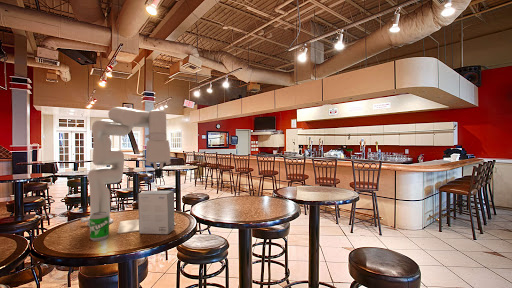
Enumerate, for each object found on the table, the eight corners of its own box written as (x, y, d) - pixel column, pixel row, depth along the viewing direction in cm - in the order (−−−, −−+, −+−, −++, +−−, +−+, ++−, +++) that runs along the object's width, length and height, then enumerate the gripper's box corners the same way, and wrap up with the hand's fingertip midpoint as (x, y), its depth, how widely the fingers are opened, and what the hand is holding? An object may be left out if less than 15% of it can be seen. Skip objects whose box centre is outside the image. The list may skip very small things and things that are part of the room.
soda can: (92, 237, 118) (92, 212, 118) (110, 235, 121) (110, 210, 121) (87, 242, 111) (87, 216, 111) (107, 240, 114) (106, 214, 114)
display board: (117, 234, 122) (117, 233, 122) (120, 222, 142) (120, 221, 142) (176, 225, 134) (176, 224, 134) (171, 215, 154) (171, 214, 154)
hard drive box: (175, 229, 127) (174, 190, 127) (168, 234, 120) (167, 194, 119) (146, 228, 129) (145, 190, 128) (138, 233, 121) (137, 193, 121)
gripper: (139, 137, 105) (140, 180, 105) (176, 137, 112) (176, 177, 112) (139, 138, 112) (140, 178, 112) (173, 137, 119) (174, 176, 118)
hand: (158, 177), depth 112 cm, fingers closed
